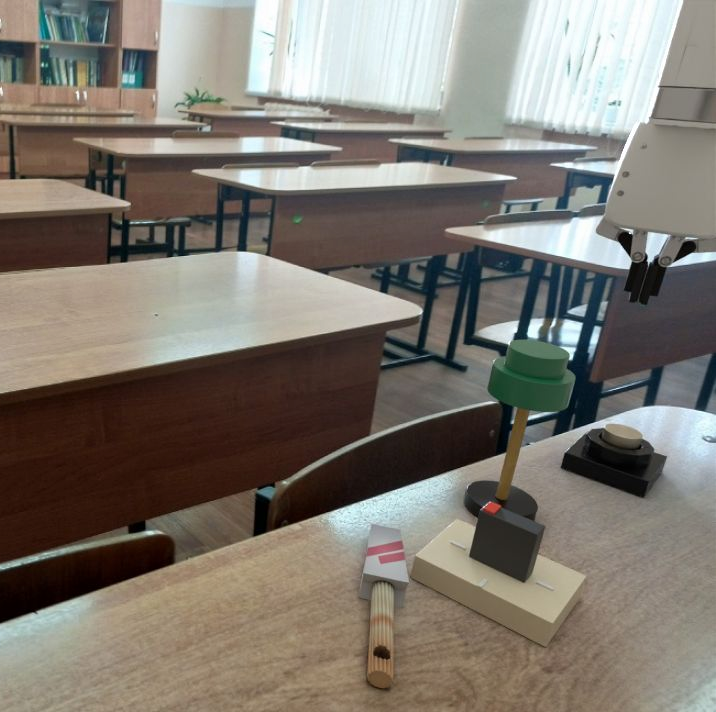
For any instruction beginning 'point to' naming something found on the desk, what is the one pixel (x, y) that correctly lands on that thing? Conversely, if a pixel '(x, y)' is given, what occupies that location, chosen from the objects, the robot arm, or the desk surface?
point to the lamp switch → (614, 463)
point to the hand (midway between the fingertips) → (637, 300)
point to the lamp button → (621, 436)
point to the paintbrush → (383, 598)
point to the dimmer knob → (506, 541)
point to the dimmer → (499, 585)
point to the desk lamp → (522, 414)
